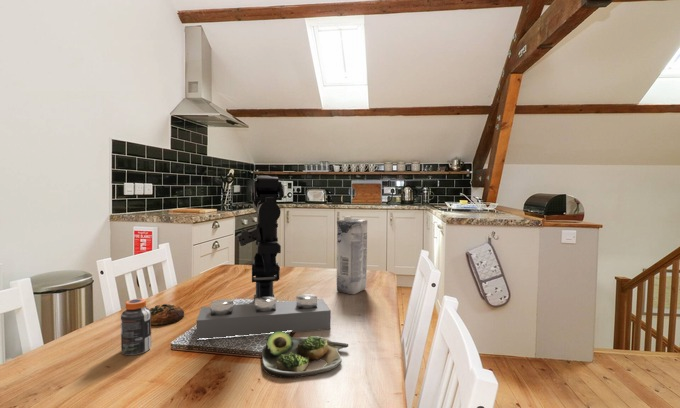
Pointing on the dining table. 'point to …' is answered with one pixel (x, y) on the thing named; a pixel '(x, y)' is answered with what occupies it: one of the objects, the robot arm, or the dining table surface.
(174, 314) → the bread roll
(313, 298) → the plunger
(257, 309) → the plunger middle
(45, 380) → the dining table surface
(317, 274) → the dining table surface
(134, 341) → the pill bottle
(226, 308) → the plunger
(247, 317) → the console
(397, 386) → the dining table surface
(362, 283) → the juice carton
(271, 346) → the salad plate
